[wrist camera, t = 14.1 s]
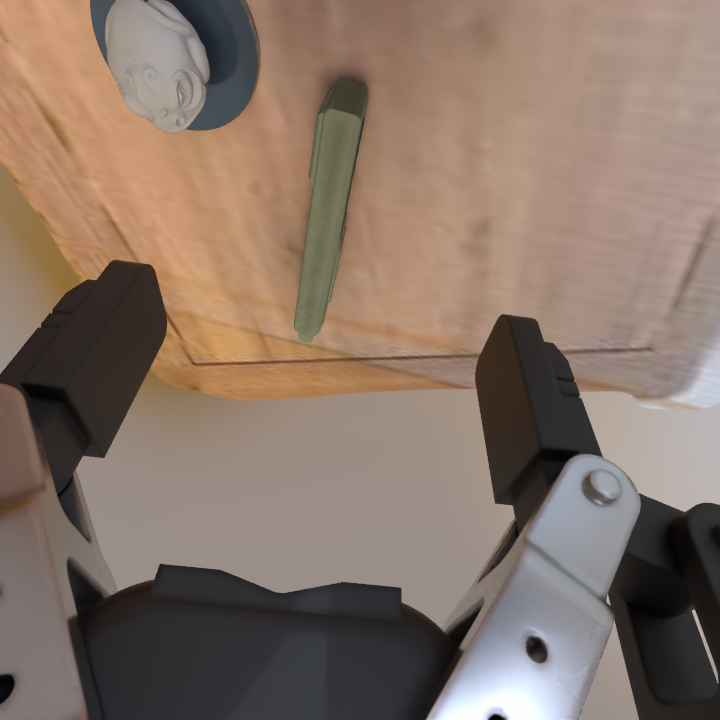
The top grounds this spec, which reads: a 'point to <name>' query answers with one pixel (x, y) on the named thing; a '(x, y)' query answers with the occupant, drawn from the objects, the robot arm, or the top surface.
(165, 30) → the white stone carving
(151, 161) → the top surface
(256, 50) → the coaster
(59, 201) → the top surface
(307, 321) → the handheld radio
